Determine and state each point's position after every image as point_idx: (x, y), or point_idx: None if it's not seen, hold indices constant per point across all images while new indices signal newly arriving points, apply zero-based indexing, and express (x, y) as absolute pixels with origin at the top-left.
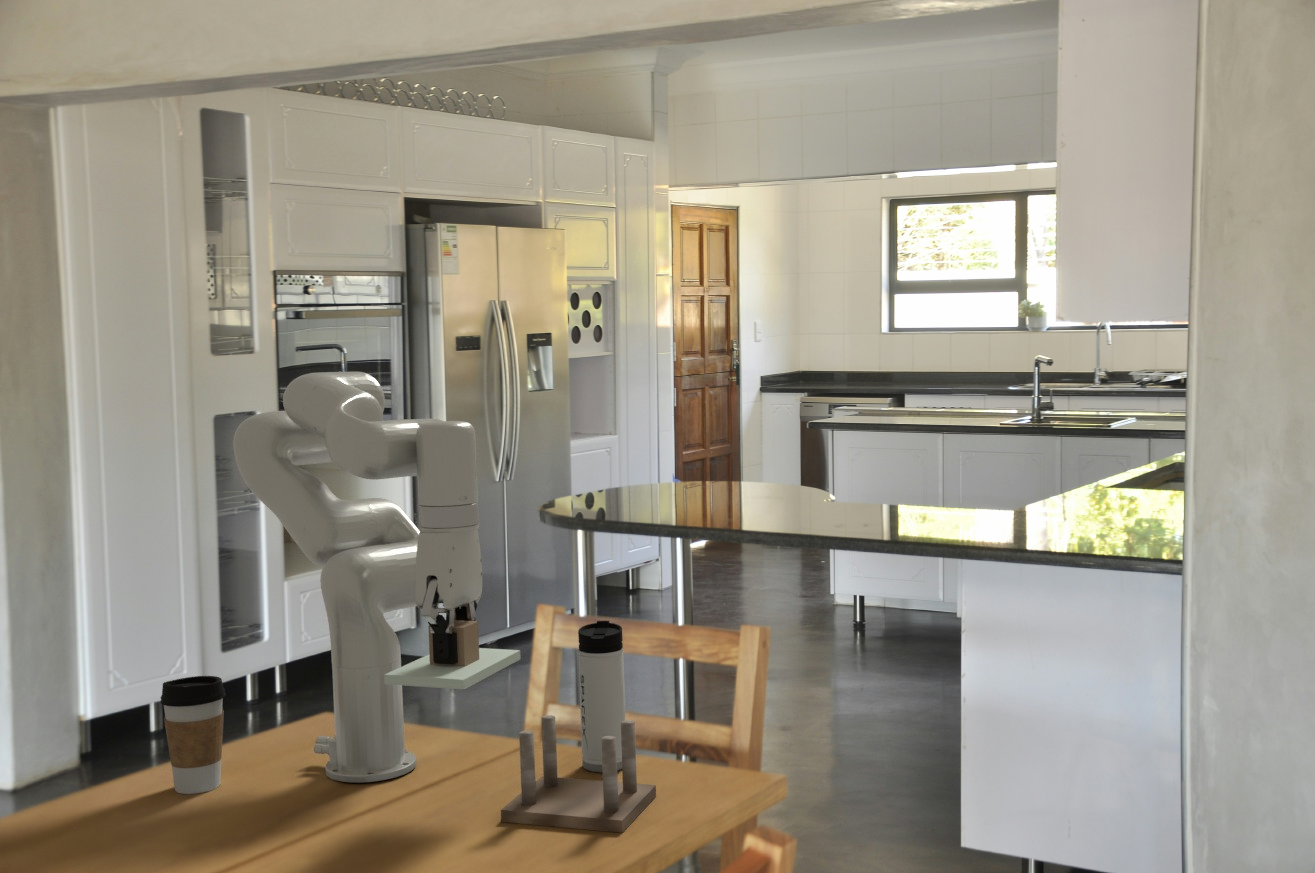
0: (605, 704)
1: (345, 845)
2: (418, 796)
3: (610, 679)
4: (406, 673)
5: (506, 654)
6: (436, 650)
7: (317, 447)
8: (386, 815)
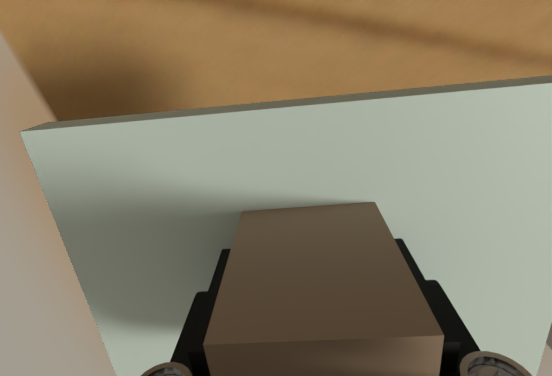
0: (550, 346)
1: (89, 68)
2: (310, 43)
3: None
4: (86, 204)
5: None
6: (191, 310)
7: None
8: (213, 47)
